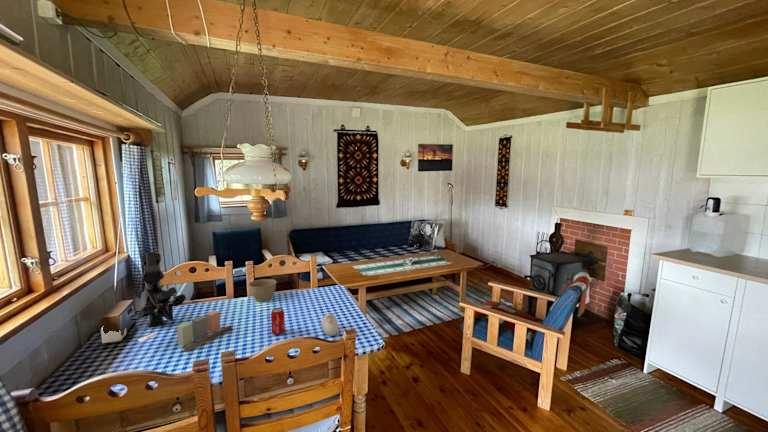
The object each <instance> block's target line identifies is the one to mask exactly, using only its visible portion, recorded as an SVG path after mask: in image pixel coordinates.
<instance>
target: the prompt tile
mask: <svg viewBox="0 0 768 432" xmlns="http://www.w3.org/2000/svg"><path fill="white" fill-rule="evenodd" d="M157 335H158V334H157V333H154V332H153V333H151V334H147V335H145V336H143V337H140V338H139V339H137V342H139V343H140V342H141V343H142V342H143V341H145V340H148V339H151V338H153V337H155V336H157Z"/></svg>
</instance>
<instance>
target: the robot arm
mask: <svg viewBox="0 0 768 432" xmlns="http://www.w3.org/2000/svg"><path fill="white" fill-rule="evenodd" d="M161 262H162V255H161V253H157V251H156V252H155V251H153V252H146V253H144V254H143V255H142V256H141V265H143V268H144V269H143V273H142V278H141V279H142V282H143V283H144V285H145V287H144V291H145V292H146V293H147V295H148V296H147V297H146V299H145V304H144V306H142V307H141V309H140V310H139V312H138V317H139V319H143V318H146V317H148V320H149V321H148V328H152V327H157V326H162V325H164V324H165V319H166V320H168V321H169V322H170V321H171V322H172V321H174V312H173V308H174V307H177V306H180V305H182V304H184V302H185V301H186V299H187V296H186V295H185V294H184V293H182V294H178V295H176V296H175V294H177V289H176V288H175V286H173V287H170V288H168V289H167V290H165V289H163V288H162V286H161V281H162V280H163V279H164V277H165V275H164V273H163V271H162V270H161V269H160V266H161V265H160V263H161ZM172 297H174V298H173V299H172ZM164 318H165V319H164Z"/></svg>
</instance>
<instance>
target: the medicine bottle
mask: <svg viewBox="0 0 768 432" xmlns="http://www.w3.org/2000/svg"><path fill="white" fill-rule="evenodd" d="M100 335H101V343H102V344H108V343H113V342H114V343H115V342H121V341H122V340H123V339H124V338H125V336H126V335H127V327H126V328H125V330H124V334H123V336H122V335H121V331H120V330H119V332H116V331H114V332H113V331H109V332H108V333H106V334H105V333H104V331H103V327H101V329H100ZM123 337H124V338H123Z"/></svg>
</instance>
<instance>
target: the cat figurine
mask: <svg viewBox="0 0 768 432" xmlns="http://www.w3.org/2000/svg"><path fill="white" fill-rule="evenodd" d="M320 326H321V329H322V330H323V331H322V332H323V333H324V334H325V335H326V336H329V337H333V336H335V335H338V334H340V330H339V327H340V326H339V322H338V319H337V317H336V316H335V315H334V314H333V313H332V312H331V313H330V312H329V313H324V314H323V317H322V319H321V321H320Z"/></svg>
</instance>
